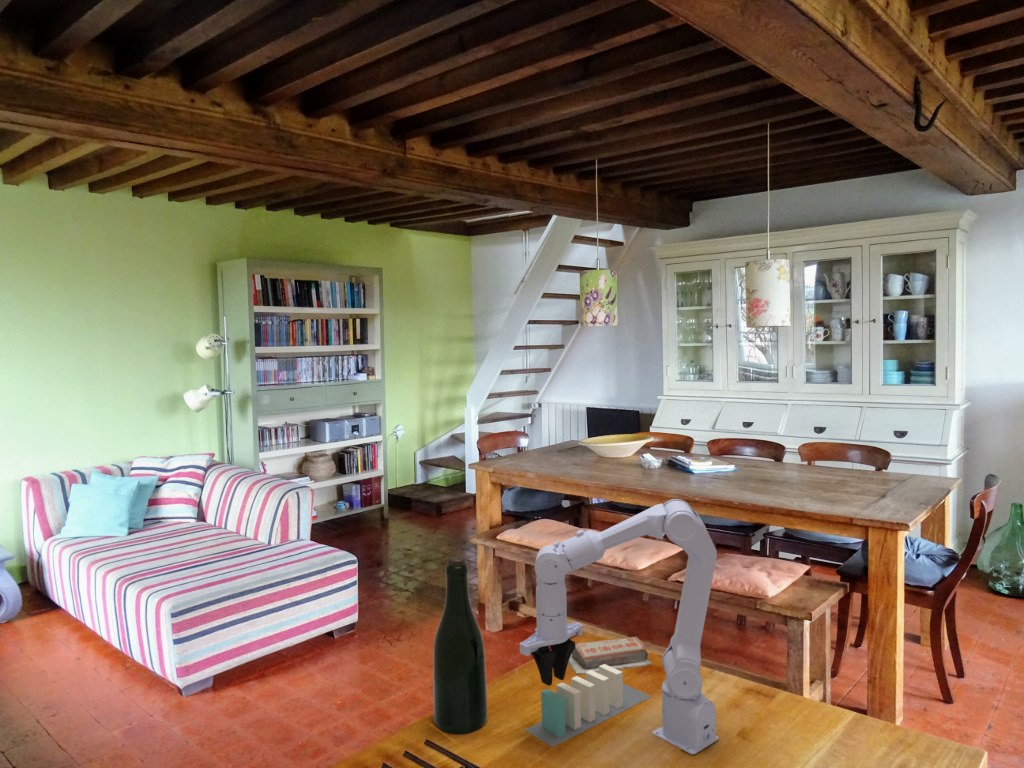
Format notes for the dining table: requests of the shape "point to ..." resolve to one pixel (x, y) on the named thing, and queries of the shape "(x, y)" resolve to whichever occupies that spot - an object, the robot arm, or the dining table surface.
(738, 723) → the dining table surface
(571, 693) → the domino
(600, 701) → the domino
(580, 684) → the domino
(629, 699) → the mat
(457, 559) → the beer bottle
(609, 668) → the domino
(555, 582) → the robot arm
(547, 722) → the domino
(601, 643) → the packaged product
